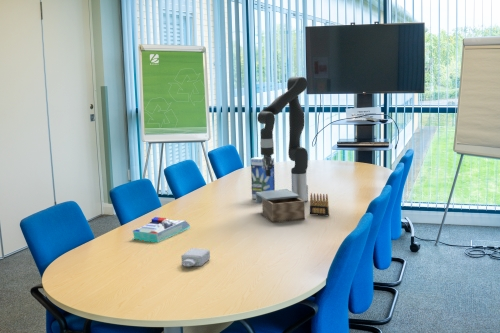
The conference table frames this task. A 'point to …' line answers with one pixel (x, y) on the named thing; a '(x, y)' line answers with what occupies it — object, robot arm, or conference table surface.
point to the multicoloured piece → (160, 229)
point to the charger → (195, 257)
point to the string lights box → (261, 177)
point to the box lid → (275, 195)
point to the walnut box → (283, 209)
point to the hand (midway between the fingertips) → (268, 175)
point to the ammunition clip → (319, 205)
